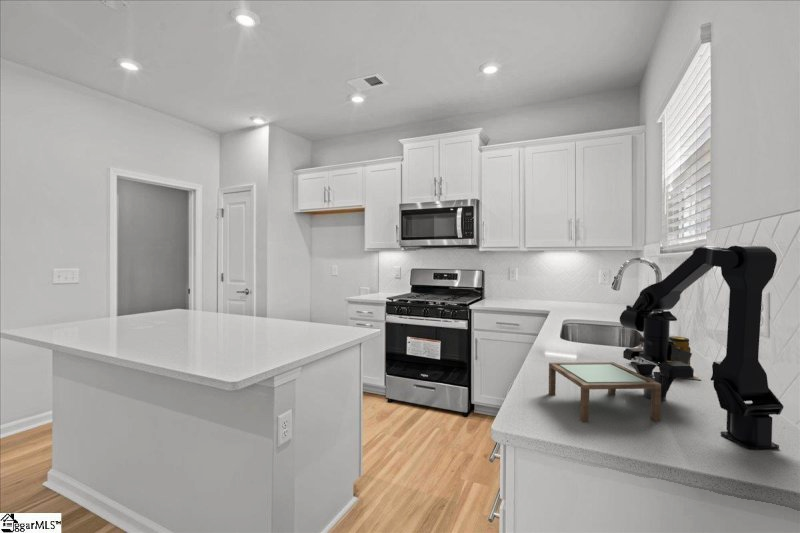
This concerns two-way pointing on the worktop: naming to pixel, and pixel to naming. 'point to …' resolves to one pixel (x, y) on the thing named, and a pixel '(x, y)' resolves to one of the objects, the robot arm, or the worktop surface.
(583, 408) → the stand
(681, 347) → the condiment
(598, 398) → the worktop surface
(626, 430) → the worktop surface
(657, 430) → the worktop surface
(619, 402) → the worktop surface
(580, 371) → the trapdoor
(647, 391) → the cylinder
